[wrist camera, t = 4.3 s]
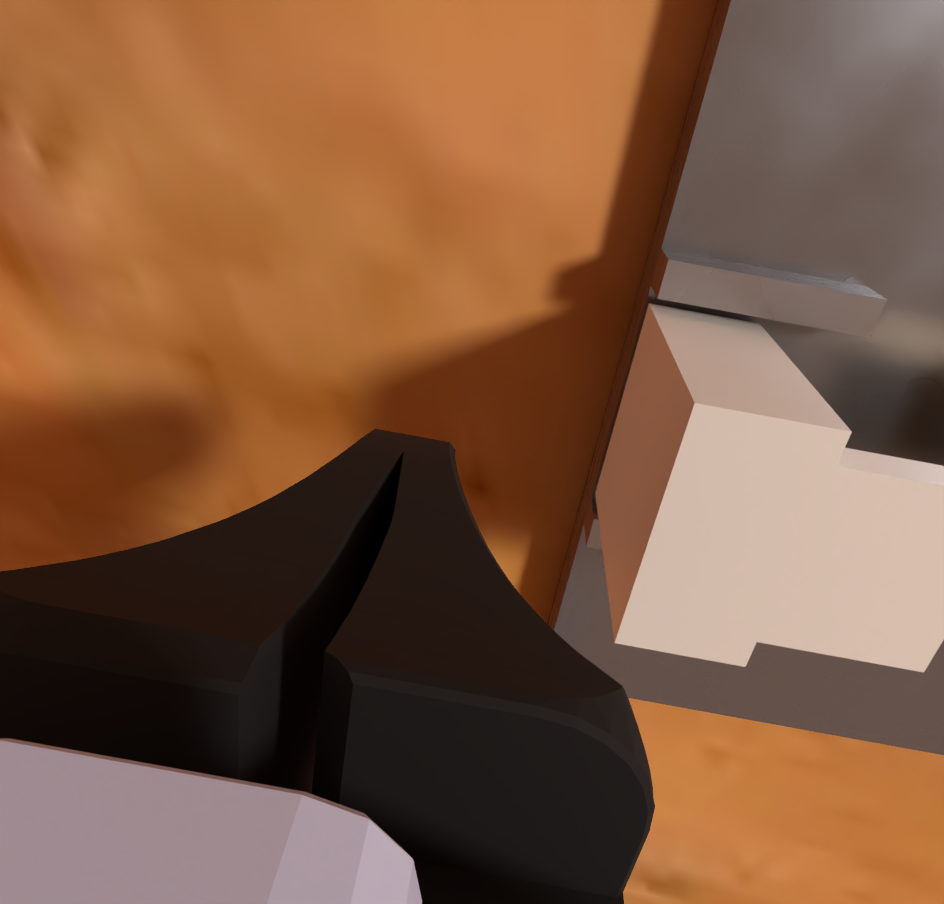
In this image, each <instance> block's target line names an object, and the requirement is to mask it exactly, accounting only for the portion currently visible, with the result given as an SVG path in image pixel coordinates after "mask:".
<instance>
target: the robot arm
mask: <svg viewBox="0 0 944 904" xmlns="http://www.w3.org/2000/svg"><path fill="white" fill-rule="evenodd" d="M654 808H655V805H654V800H653V787H652V780H651V774H650V769H649V764H648V760H647V756H646V752H645V748H644V745H643V742H642V739H641V735H640V732H639V729H638V725H637V723H636V720H635V717H634V714H633V711H632V708H631V705H630V702H629V699H628V697H627V694H626V691H625V689H624V687H623V686H622V685H621V684H619V683H618V682H617V681H615V680H614V679H613V678H611V677H610V676H609V675H608V674H606V673H605V672H604V671H602V670H601V669H600V668H598V667H597V666H596V665H594V664H593V663H592V662H590V661H589V660H588V659H586V658H585V657H584V656H582V655H581V654H580V653H578V652H577V651H576V650H575V649H574V648H572V647H571V646H570V645H569V644H568V643H567V642H566V641H565V640H564V639H563V638H561V637H560V636H559V635H558V634H557V633H556V632H555V631H554V630H553V629H552V628H551V627H550V626H548V625H547V624H546V623H545V622H544V621H543V619H542V618H541V617H540V616H539V615H538V614H537V613H536V612H535V611H534V610H533V609H532V608H531V606H530V605H529V604H528V603H527V602H526V601H525V600H524V598H523V597H522V596H521V595H520V594H519V593H518V591H517V590H516V589H515V588H514V586H513V585H512V584H511V582H510V581H509V580H508V578H507V577H506V575H505V574H504V572H503V571H502V569H501V568H500V566H499V565H498V563H497V562H496V560H495V558H494V557H493V555H492V553H491V552H490V550H489V548H488V546H487V544H486V543H485V541H484V539H483V537H482V535H481V533H480V531H479V529H478V527H477V525H476V522H475V520H474V518H473V516H472V513H471V511H470V508H469V506H468V503H467V500H466V498H465V495H464V492H463V489H462V486H461V483H460V480H459V476H458V472H457V467H456V462H455V449H454V448H453V446H452V445H451V444H450V443H449V442H444V441H438V440H433V439H427V438H422V437H417V436H411V435H406V434H400V433H395V432H389V431H384V430H378V429H375V430H373V431H372V432H370V433H368V434H367V435H366V436H364V437H363V438H361V439H360V440H359V441H357V442H356V443H355V444H353V445H352V446H351V447H349V448H348V449H347V450H345V451H344V452H343V453H341V454H340V455H338V456H337V457H336V458H334V459H333V460H331V461H330V462H329V463H327V464H326V465H324V466H323V467H321V468H320V469H318V470H317V471H315V472H314V473H312V474H311V475H309V476H308V477H306V478H305V479H303V480H301V481H300V482H298V483H296V484H294V485H293V486H291V487H289V488H288V489H286V490H284V491H282V492H281V493H279V494H277V495H276V496H274V497H272V498H270V499H268V500H266V501H264V502H262V503H260V504H258V505H256V506H254V507H251V508H249V509H247V510H245V511H242V512H240V513H238V514H235V515H233V516H231V517H229V518H226V519H224V520H221V521H219V522H216V523H213V524H210V525H207V526H204V527H201V528H198V529H195V530H192V531H189V532H186V533H184V534H181V535H178V536H175V537H172V538H169V539H166V540H162V541H159V542H155V543H151V544H148V545H144V546H140V547H136V548H132V549H128V550H124V551H119V552H115V553H110V554H106V555H102V556H97V557H92V558H87V559H81V560H76V561H70V562H63V563H56V564H50V565H43V566H37V567H30V568H24V569H17V570H10V571H1V572H0V904H624V899H623V891H624V888H625V886H626V884H627V881H628V879H629V877H630V875H631V872H632V870H633V868H634V865H635V863H636V861H637V858H638V856H639V854H640V852H641V849H642V847H643V845H644V842H645V840H646V838H647V835H648V833H649V831H650V826H651V822H652V817H653V813H654Z"/></svg>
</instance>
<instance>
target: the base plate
mask: <svg viewBox="0 0 944 904" xmlns="http://www.w3.org/2000/svg"><path fill="white" fill-rule="evenodd" d="M649 303H651V304H656V305H662V306H667V307H673V308H678V309H683V310H689V311H694V312H700V313H705V314H711V315H716V316H721V317H727V318H732V319H738V320H743V321H749V322H754V323H759V324H760V325H761V326H762V327H763V328H764V329H765V330H766V332H767V333H768V334H769V335H770V336H771V337H772V339H773V340H774V341H775V342H776V343H777V345H778V346H779V347H780V348H781V349H782V350H783V352H784V353H785V354H786V355H787V356H788V357H789V359H790V360H791V361H792V362H793V363H794V364H795V366H796V367H797V368H798V369H799V370H800V371H801V373H802V374H803V375H804V376H805V377H806V379H807V380H808V381H809V382H810V383H811V384H812V386H813V387H814V388H815V389H816V390H817V391H818V393H819V394H820V395H821V396H822V397H823V398H824V400H825V401H826V402H827V403H828V404H829V405H830V407H831V408H832V409H833V410H834V411H835V413H836V414H837V415H838V416H839V417H840V418H841V420H842V421H843V422H844V423H845V424H846V425H847V427H848V428H849V429H850V430H851V431H852V433H851V435H850V437H849V439H848V442H847V444H846V446H845V448H849V449H855V450H860V451H866V452H871V453H877V454H882V455H888V456H893V457H898V458H904V459H909V460H915V461H920V462H926V463H931V464H937V465H942V466H944V0H718V3H717V7H716V11H715V14H714V18H713V22H712V25H711V29H710V33H709V36H708V40H707V44H706V47H705V51H704V55H703V58H702V62H701V66H700V69H699V73H698V76H697V80H696V84H695V87H694V91H693V95H692V98H691V102H690V106H689V109H688V113H687V117H686V120H685V124H684V128H683V131H682V135H681V139H680V142H679V146H678V150H677V153H676V157H675V160H674V164H673V168H672V171H671V175H670V179H669V182H668V186H667V190H666V193H665V197H664V201H663V204H662V208H661V212H660V215H659V219H658V223H657V226H656V230H655V234H654V237H653V241H652V245H651V248H650V252H649V255H648V259H647V263H646V266H645V270H644V274H643V277H642V281H641V285H640V288H639V292H638V296H637V299H636V303H635V307H634V310H633V314H632V318H631V321H630V325H629V329H628V332H627V336H626V339H625V343H624V347H623V350H622V354H621V358H620V361H619V365H618V369H617V372H616V376H615V380H614V383H613V387H612V391H611V394H610V398H609V402H608V405H607V409H606V413H605V416H604V420H603V424H602V427H601V431H600V434H599V438H598V442H597V445H596V449H595V453H594V456H593V460H592V464H591V467H590V471H589V475H588V478H587V482H586V486H585V489H584V493H583V497H582V500H581V504H580V508H579V511H578V515H577V518H576V522H575V526H574V529H573V533H572V537H571V540H570V544H569V548H568V551H567V555H566V559H565V562H564V566H563V570H562V573H561V577H560V581H559V584H558V588H557V592H556V595H555V599H554V602H553V606H552V610H551V613H550V617H549V621H548V624H547V625H548V626H550V627H551V628H552V629H553V630H554V631H555V632H556V633H557V634H558V635H559V636H560V637H561V638H563V639H564V640H565V641H566V642H567V643H568V644H569V645H570V646H571V647H572V648H574V649H575V650H576V651H577V652H578V653H580V654H581V655H582V656H584V657H585V658H586V659H588V660H589V661H590V662H592V663H593V664H594V665H596V666H597V667H598V668H600V669H601V670H602V671H604V672H605V673H606V674H608V675H609V676H610V677H611V678H613V679H614V680H615V681H617V682H618V683H619V684H621V685H622V686H623V687H624V689H625V691H626V694H627V697H628V698H633V699H639V700H644V701H650V702H655V703H661V704H666V705H672V706H677V707H683V708H688V709H694V710H699V711H705V712H710V713H716V714H721V715H726V716H732V717H737V718H743V719H748V720H754V721H759V722H765V723H770V724H776V725H781V726H787V727H792V728H798V729H803V730H809V731H814V732H820V733H825V734H831V735H836V736H842V737H847V738H853V739H858V740H864V741H869V742H875V743H880V744H886V745H891V746H897V747H902V748H908V749H913V750H919V751H924V752H930V753H935V754H941V755H944V640H943V642H942V643H941V645H940V647H939V648H938V650H937V652H936V653H935V655H934V656H933V658H932V660H931V661H930V663H929V665H928V666H927V668H926V670H925V671H924V672H918V671H913V670H907V669H902V668H896V667H891V666H885V665H880V664H874V663H869V662H863V661H858V660H853V659H847V658H842V657H836V656H831V655H825V654H820V653H814V652H809V651H803V650H798V649H792V648H787V647H781V646H776V645H770V644H765V643H759V642H757V643H756V645H755V647H754V649H753V652H752V654H751V656H750V658H749V660H748V663H747V665H746V667H743V666H737V665H732V664H726V663H721V662H715V661H710V660H704V659H699V658H693V657H688V656H682V655H677V654H671V653H666V652H660V651H655V650H649V649H644V648H638V647H633V646H627V645H622V644H616V643H614V635H613V628H612V620H611V612H610V604H609V597H608V589H607V581H606V573H605V566H604V558H603V550H602V543H601V535H600V527H599V519H598V512H597V504H596V496H595V492H596V489H597V485H598V482H599V478H600V474H601V471H602V467H603V464H604V460H605V457H606V453H607V450H608V446H609V443H610V439H611V436H612V432H613V428H614V425H615V421H616V418H617V414H618V411H619V407H620V404H621V400H622V397H623V393H624V390H625V386H626V382H627V379H628V375H629V372H630V368H631V365H632V361H633V358H634V354H635V351H636V347H637V343H638V340H639V336H640V333H641V329H642V326H643V322H644V319H645V315H646V312H647V308H648V305H649Z"/></svg>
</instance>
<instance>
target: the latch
mask: <svg viewBox="0 0 944 904" xmlns="http://www.w3.org/2000/svg"><path fill="white" fill-rule="evenodd" d="M851 433H852V431H851V430H850V429H849V428H848V427H847V425H846V424H845V423H844V422H843V421H842V420H841V418H840V417H839V416H838V415H837V414H836V413H835V411H834V410H833V409H832V408H831V407H830V405H829V404H828V403H827V402H826V401H825V400H824V398H823V397H822V396H821V395H820V394H819V393H818V391H817V390H816V389H815V388H814V387H813V386H812V384H811V383H810V382H809V381H808V380H807V379H806V377H805V376H804V375H803V374H802V373H801V371H800V370H799V369H798V368H797V367H796V366H795V364H794V363H793V362H792V361H791V360H790V359H789V357H788V356H787V355H786V354H785V353H784V352H783V350H782V349H781V348H780V347H779V346H778V345H777V343H776V342H775V341H774V340H773V339H772V337H771V336H770V335H769V334H768V333H767V332H766V330H765V329H764V328H763V327H762V326H761V325H760V324H759V323H754V322H749V321H743V320H738V319H732V318H727V317H721V316H716V315H711V314H705V313H700V312H694V311H689V310H683V309H678V308H673V307H667V306H662V305H656V304H651V303H649V305H648V308H647V312H646V315H645V319H644V322H643V326H642V329H641V333H640V336H639V340H638V343H637V347H636V351H635V354H634V358H633V361H632V365H631V368H630V372H629V375H628V379H627V382H626V386H625V390H624V393H623V397H622V400H621V404H620V407H619V411H618V414H617V418H616V421H615V425H614V428H613V432H612V436H611V439H610V443H609V446H608V450H607V453H606V457H605V460H604V464H603V467H602V471H601V474H600V478H599V482H598V485H597V489H596V492H595V496H596V504H597V512H598V519H599V527H600V535H601V543H602V550H603V558H604V566H605V573H606V581H607V589H608V597H609V604H610V612H611V620H612V628H613V635H614V643H616V644H622V645H627V646H633V647H638V648H644V649H649V650H655V651H660V652H666V653H671V654H677V655H682V656H688V657H693V658H699V659H704V660H710V661H715V662H721V663H726V664H732V665H737V666H743V667H746V665H747V663H748V660H749V658H750V656H751V654H752V652H753V649H754V647H755V645H756V643H757V642H759V643H765V644H770V645H776V646H781V647H787V648H792V649H798V650H803V651H809V652H814V653H820V654H825V655H831V656H836V657H842V658H847V659H853V660H858V661H863V662H869V663H874V664H880V665H885V666H891V667H896V668H902V669H907V670H913V671H918V672H924V671H925V670H926V668H927V666H928V665H929V663H930V661H931V660H932V658H933V656H934V655H935V653H936V652H937V650H938V648H939V647H940V645H941V643H942V642H943V640H944V466H942V465H937V464H931V463H926V462H920V461H915V460H909V459H904V458H898V457H893V456H888V455H882V454H877V453H871V452H866V451H860V450H855V449H849V448H845V446H846V444H847V442H848V439H849V437H850V435H851Z"/></svg>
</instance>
